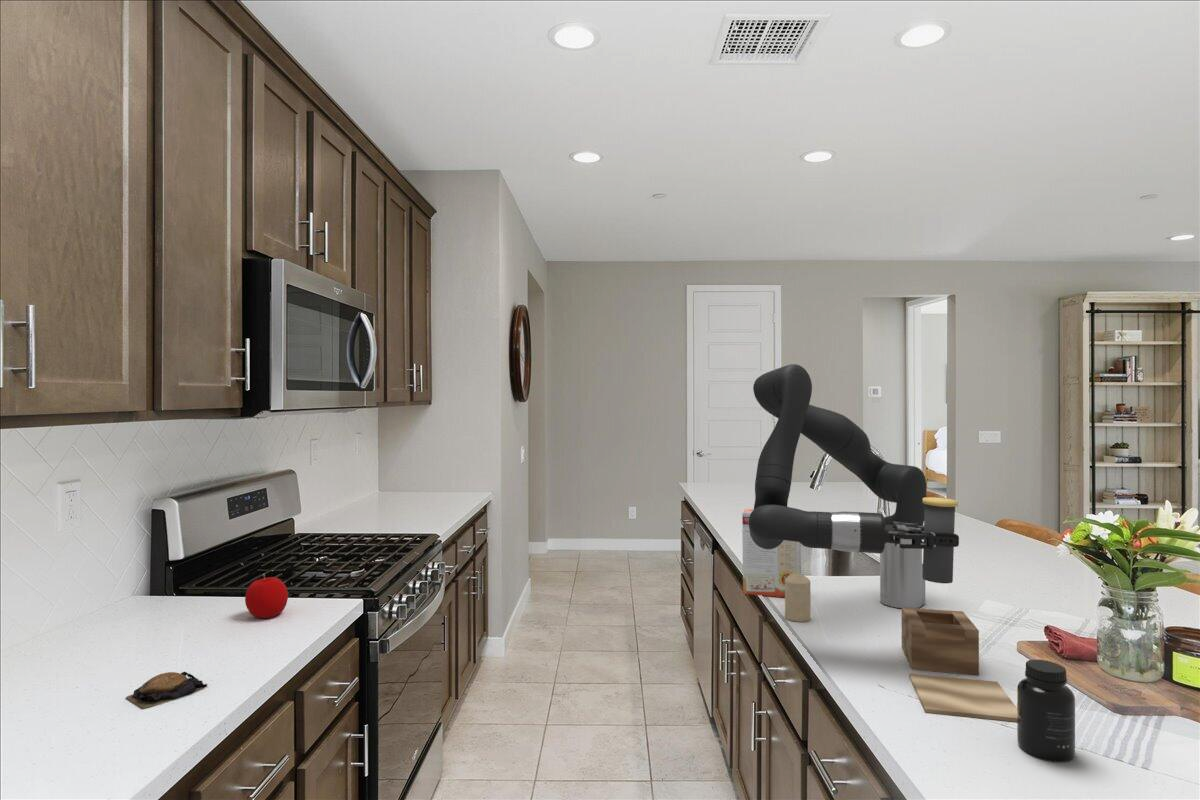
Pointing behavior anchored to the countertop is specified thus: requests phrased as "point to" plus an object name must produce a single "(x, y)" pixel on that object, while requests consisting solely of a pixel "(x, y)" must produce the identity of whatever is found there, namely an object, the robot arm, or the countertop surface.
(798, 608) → the candle
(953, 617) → the socket block
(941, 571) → the plug
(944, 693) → the cork mat
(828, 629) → the countertop surface
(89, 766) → the countertop surface
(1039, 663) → the supplement bottle
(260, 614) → the fruit
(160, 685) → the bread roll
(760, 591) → the cracker box
